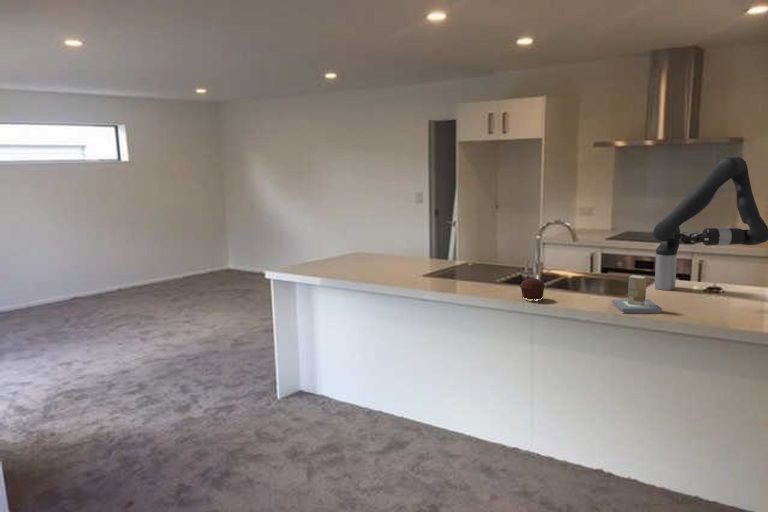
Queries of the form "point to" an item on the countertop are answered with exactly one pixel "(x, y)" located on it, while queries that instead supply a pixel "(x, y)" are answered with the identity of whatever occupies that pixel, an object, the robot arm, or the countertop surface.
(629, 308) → the plate
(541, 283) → the muffin
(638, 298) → the skincare box
